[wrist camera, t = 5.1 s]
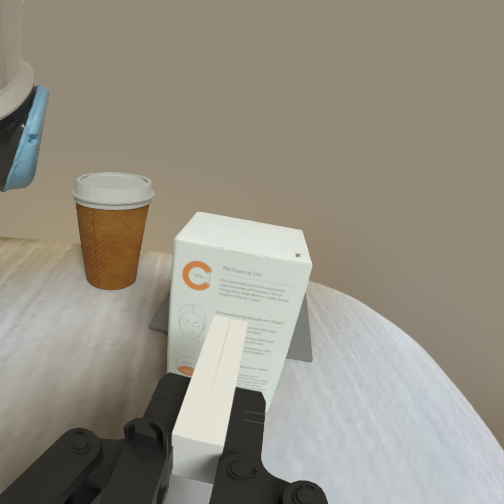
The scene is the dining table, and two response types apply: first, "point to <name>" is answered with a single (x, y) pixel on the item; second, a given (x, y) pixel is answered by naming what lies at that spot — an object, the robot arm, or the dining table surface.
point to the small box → (237, 293)
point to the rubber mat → (298, 344)
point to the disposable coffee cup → (112, 225)
